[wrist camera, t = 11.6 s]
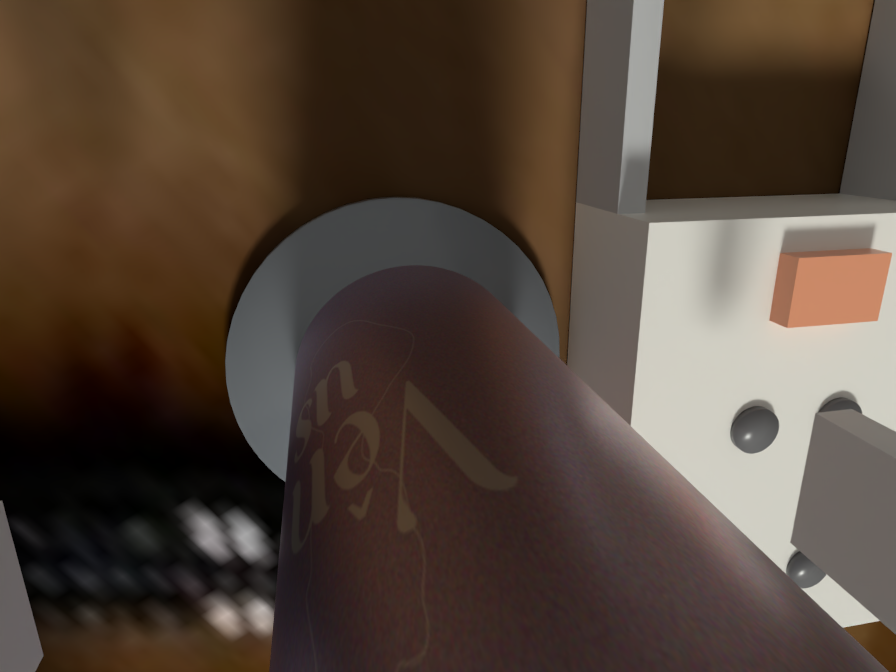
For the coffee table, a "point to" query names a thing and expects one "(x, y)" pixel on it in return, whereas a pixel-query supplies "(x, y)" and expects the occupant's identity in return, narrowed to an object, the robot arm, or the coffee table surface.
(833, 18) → the coffee table surface
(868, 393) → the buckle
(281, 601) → the beverage can
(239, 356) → the coaster
